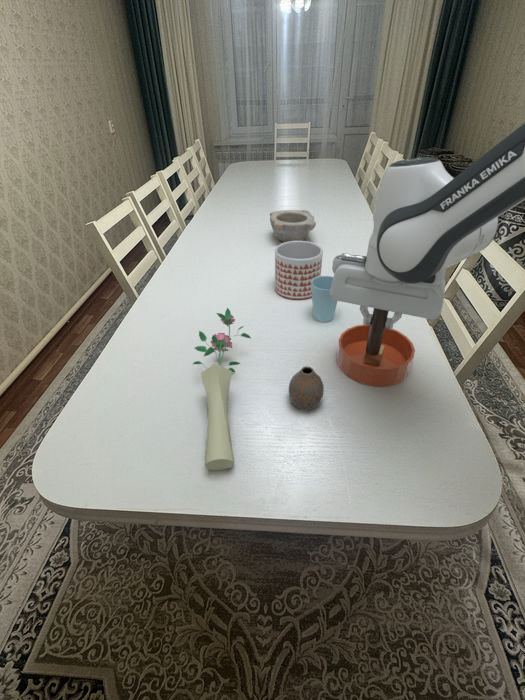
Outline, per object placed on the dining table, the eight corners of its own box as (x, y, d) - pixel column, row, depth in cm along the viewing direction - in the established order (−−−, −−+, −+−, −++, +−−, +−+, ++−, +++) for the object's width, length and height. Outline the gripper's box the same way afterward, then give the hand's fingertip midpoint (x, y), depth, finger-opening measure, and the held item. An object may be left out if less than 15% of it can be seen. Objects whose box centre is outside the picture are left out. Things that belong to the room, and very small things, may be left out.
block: (381, 357, 83) (384, 345, 81) (379, 366, 80) (381, 354, 78) (366, 353, 84) (369, 341, 82) (363, 362, 82) (365, 350, 79)
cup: (307, 323, 96) (309, 288, 89) (310, 308, 101) (312, 274, 95) (336, 326, 94) (340, 290, 88) (337, 310, 100) (341, 276, 94)
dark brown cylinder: (380, 349, 76) (392, 295, 68) (377, 357, 74) (390, 302, 66) (366, 346, 77) (377, 292, 69) (364, 353, 75) (374, 299, 67)
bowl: (413, 350, 85) (418, 333, 82) (404, 395, 74) (409, 377, 71) (346, 335, 91) (348, 318, 88) (328, 374, 80) (330, 357, 76)
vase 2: (284, 303, 104) (285, 262, 96) (268, 283, 114) (268, 244, 106) (327, 295, 107) (331, 254, 99) (308, 275, 117) (310, 237, 109)
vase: (325, 394, 75) (328, 362, 69) (318, 418, 70) (321, 386, 64) (293, 387, 77) (294, 355, 71) (284, 410, 72) (284, 378, 66)
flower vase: (207, 486, 67) (205, 344, 89) (269, 472, 65) (252, 330, 87) (176, 466, 58) (183, 313, 80) (247, 449, 56) (234, 297, 78)
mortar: (316, 246, 136) (317, 222, 130) (271, 248, 135) (271, 224, 130) (309, 231, 149) (310, 208, 143) (268, 232, 148) (268, 209, 143)
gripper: (329, 258, 64) (322, 322, 73) (453, 278, 57) (430, 346, 66) (338, 245, 68) (331, 307, 77) (455, 262, 61) (433, 328, 70)
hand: (377, 325), depth 71 cm, fingers closed on dark brown cylinder, 3 cm apart
